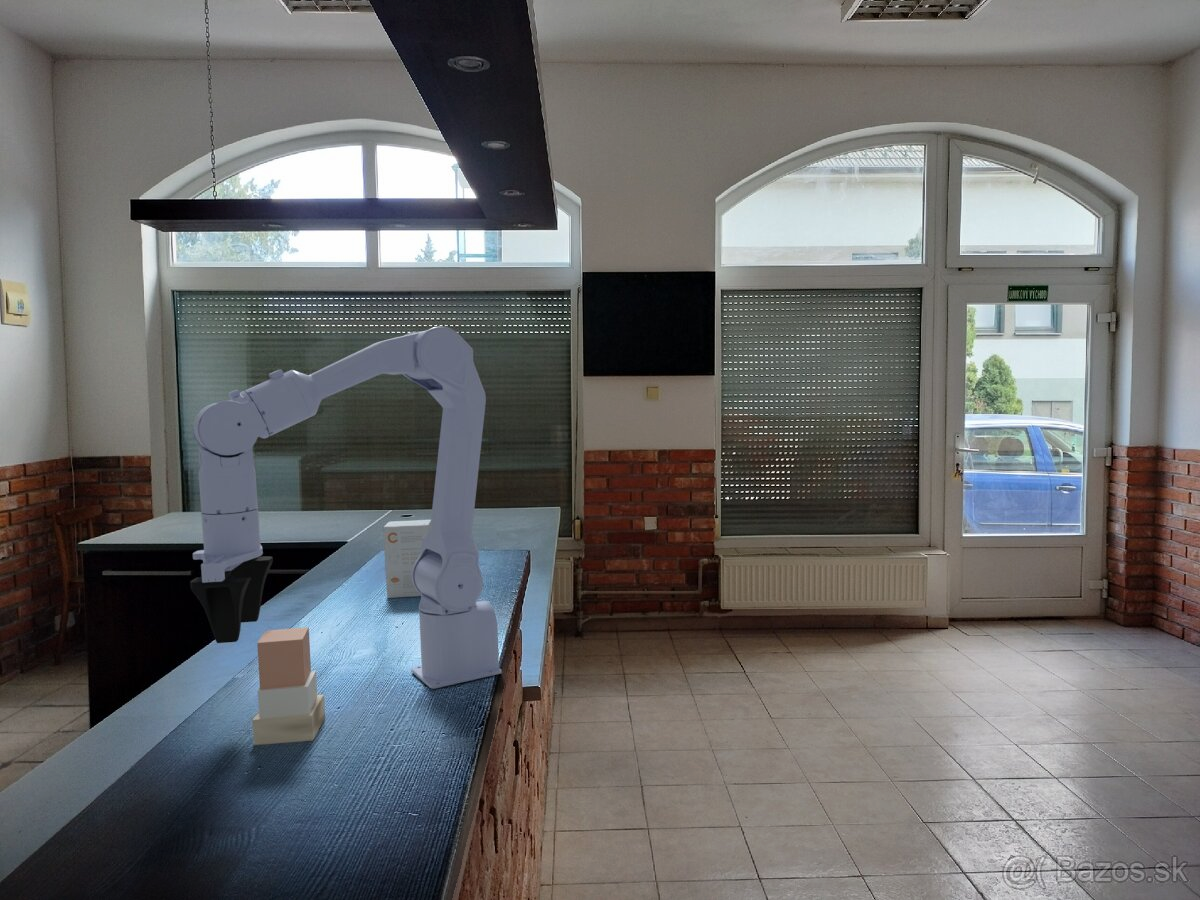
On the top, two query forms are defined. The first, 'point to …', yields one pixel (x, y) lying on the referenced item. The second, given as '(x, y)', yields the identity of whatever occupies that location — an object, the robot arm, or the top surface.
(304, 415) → the robot arm
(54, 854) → the top surface
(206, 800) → the top surface
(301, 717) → the tower base slab
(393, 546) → the small box
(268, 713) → the tower top slab
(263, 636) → the terracotta block
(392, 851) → the top surface
